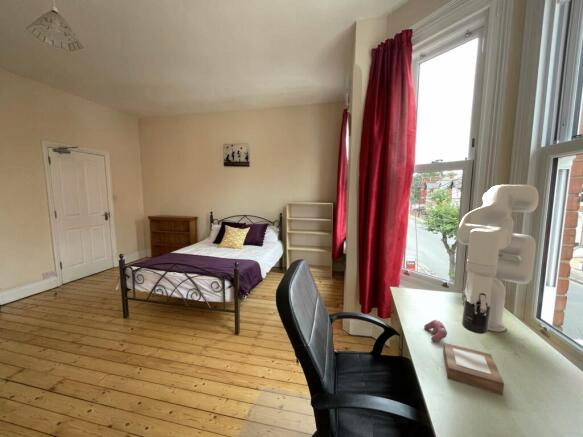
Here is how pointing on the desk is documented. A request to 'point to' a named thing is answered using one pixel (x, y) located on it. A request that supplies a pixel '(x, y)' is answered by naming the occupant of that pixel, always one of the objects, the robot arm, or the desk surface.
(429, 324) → the video game controller
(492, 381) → the brown picture frame
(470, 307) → the supplement bottle
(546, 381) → the desk surface
